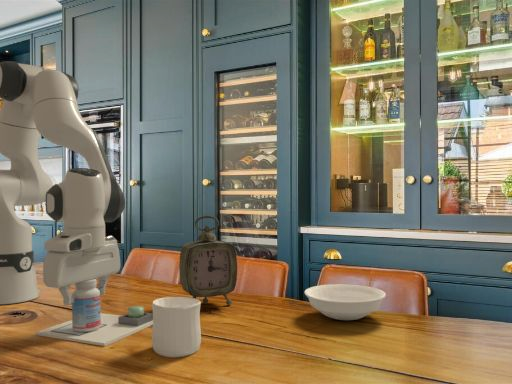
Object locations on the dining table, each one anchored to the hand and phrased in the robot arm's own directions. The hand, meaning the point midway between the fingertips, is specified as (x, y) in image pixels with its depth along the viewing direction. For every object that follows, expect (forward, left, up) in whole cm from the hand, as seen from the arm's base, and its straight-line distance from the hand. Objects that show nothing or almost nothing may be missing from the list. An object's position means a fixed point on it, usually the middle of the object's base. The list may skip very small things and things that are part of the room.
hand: (85, 299), depth 105 cm
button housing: (+7, +9, -7) cm, 14 cm away
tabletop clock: (+14, +31, -8) cm, 35 cm away
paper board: (+1, +3, -7) cm, 8 cm away
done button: (+7, +9, -6) cm, 13 cm away
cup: (+26, -2, -8) cm, 27 cm away
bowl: (+52, +33, -8) cm, 62 cm away
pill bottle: (0, 0, -7) cm, 7 cm away
